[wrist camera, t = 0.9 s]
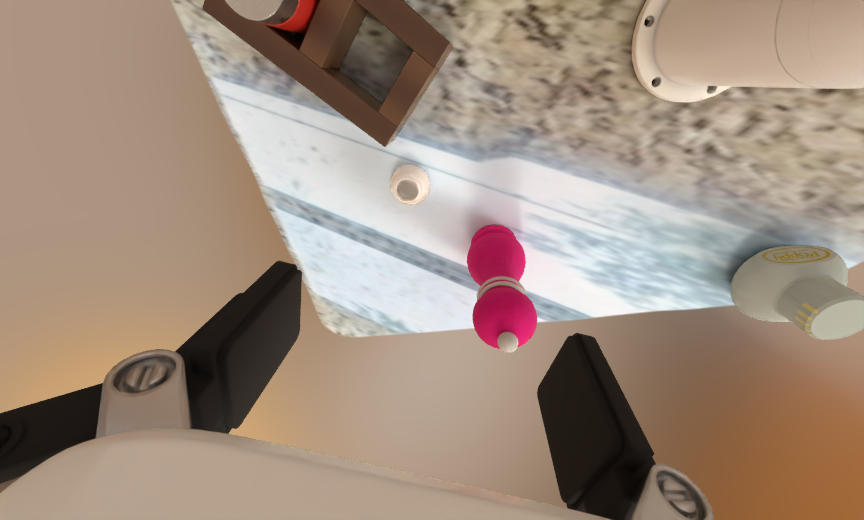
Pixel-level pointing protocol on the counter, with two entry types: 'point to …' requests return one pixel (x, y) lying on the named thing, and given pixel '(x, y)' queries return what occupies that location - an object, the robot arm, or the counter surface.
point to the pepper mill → (500, 289)
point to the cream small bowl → (410, 184)
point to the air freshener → (799, 291)
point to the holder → (328, 47)
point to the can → (278, 12)
